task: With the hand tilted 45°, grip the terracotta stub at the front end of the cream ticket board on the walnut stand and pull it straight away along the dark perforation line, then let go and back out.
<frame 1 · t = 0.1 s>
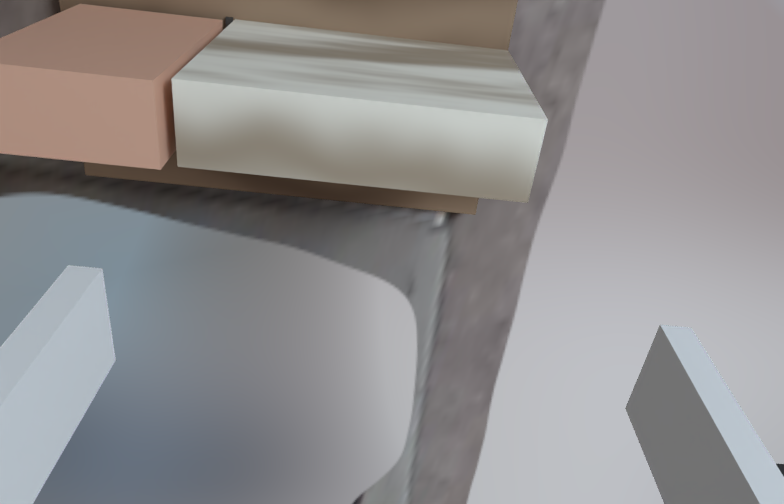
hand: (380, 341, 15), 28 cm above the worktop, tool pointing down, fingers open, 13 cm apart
ticket stub: (115, 76, 32), point 8 cm above the worktop, slide at 0.0 cm
ticket stand: (289, 53, 40), on the worktop
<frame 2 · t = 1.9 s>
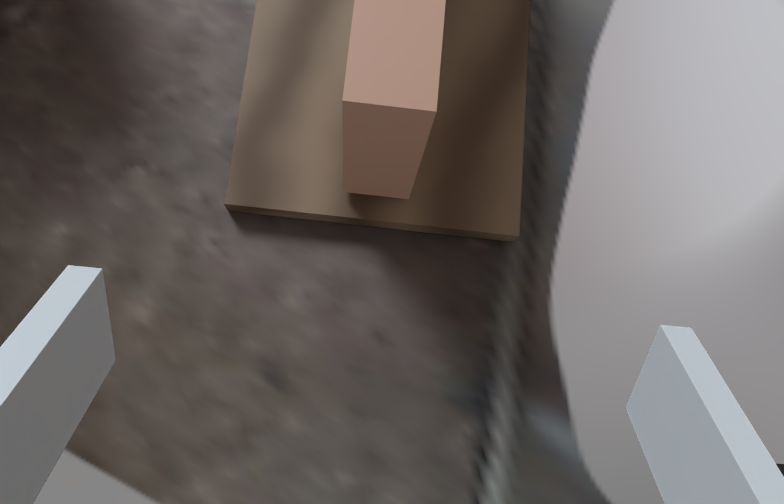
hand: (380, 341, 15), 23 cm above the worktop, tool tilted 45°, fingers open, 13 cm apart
ticket stub: (388, 87, 34), point 8 cm above the worktop, slide at 0.0 cm
ticket stand: (391, 42, 43), on the worktop
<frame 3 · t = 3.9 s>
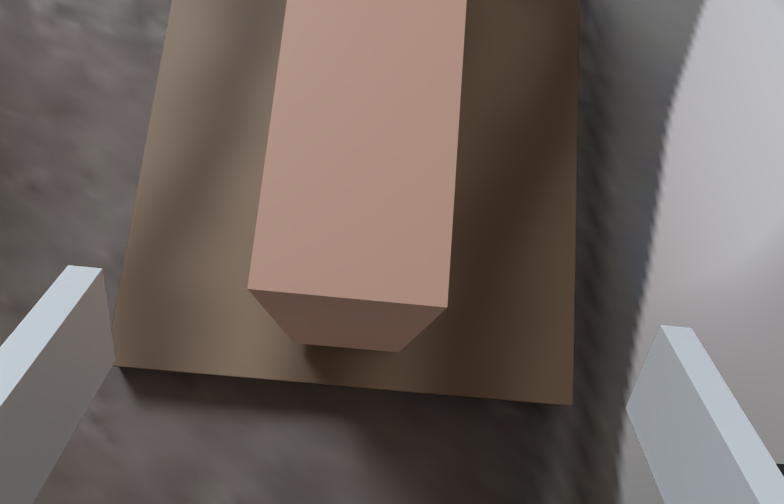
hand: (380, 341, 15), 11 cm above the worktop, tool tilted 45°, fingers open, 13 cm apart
ticket stub: (360, 199, 20), point 8 cm above the worktop, slide at 0.0 cm
ticket stand: (371, 94, 29), on the worktop
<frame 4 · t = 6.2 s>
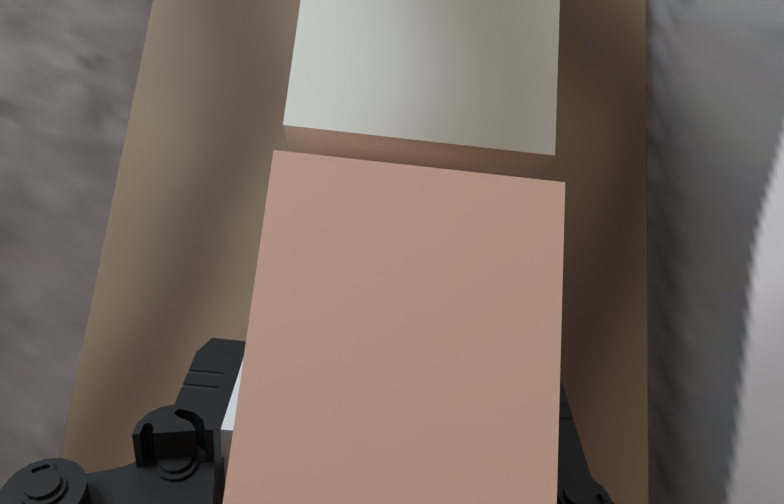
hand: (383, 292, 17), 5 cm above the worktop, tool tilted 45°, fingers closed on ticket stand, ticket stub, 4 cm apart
ticket stub: (374, 445, 14), point 8 cm above the worktop, slide at 0.0 cm, touching gripper
ticket stand: (384, 213, 23), on the worktop
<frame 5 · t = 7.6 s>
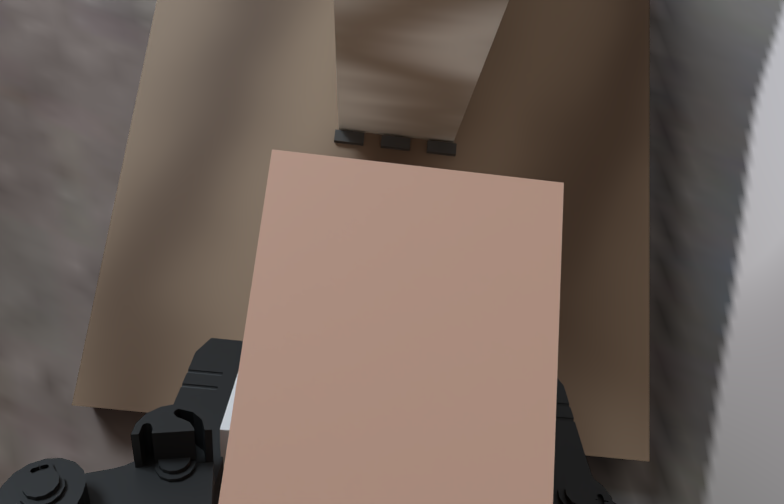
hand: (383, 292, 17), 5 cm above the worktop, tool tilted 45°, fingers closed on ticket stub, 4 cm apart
ticket stub: (373, 445, 14), point 8 cm above the worktop, slide at 5.4 cm, touching gripper
ticket stand: (400, 79, 24), on the worktop
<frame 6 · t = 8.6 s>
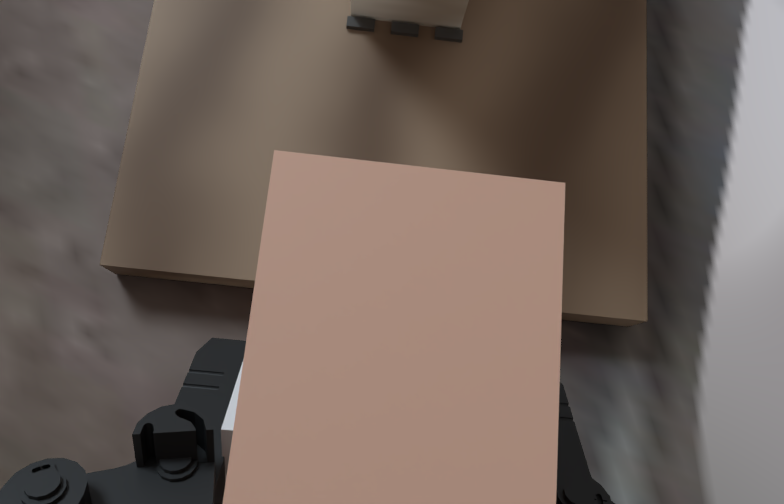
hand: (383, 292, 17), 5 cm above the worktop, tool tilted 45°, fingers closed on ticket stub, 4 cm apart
ticket stub: (373, 445, 14), point 8 cm above the worktop, slide at 9.8 cm, touching gripper
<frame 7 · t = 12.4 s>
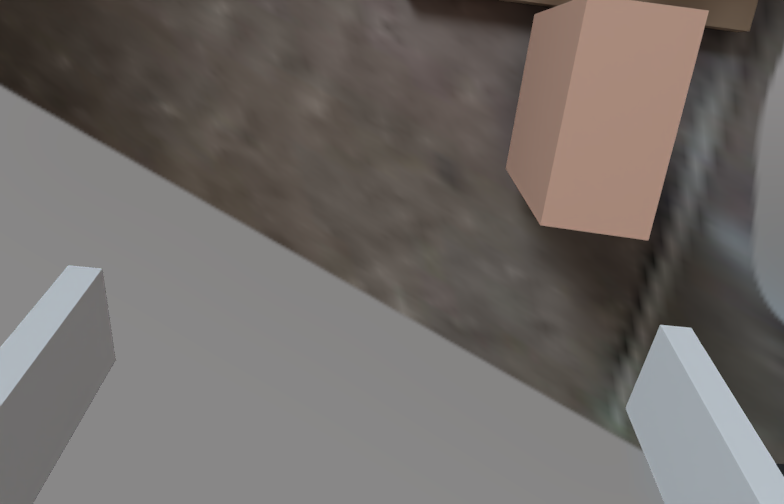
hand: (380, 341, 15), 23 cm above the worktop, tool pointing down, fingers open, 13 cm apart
ticket stub: (582, 109, 28), point 8 cm above the worktop, slide at 10.0 cm
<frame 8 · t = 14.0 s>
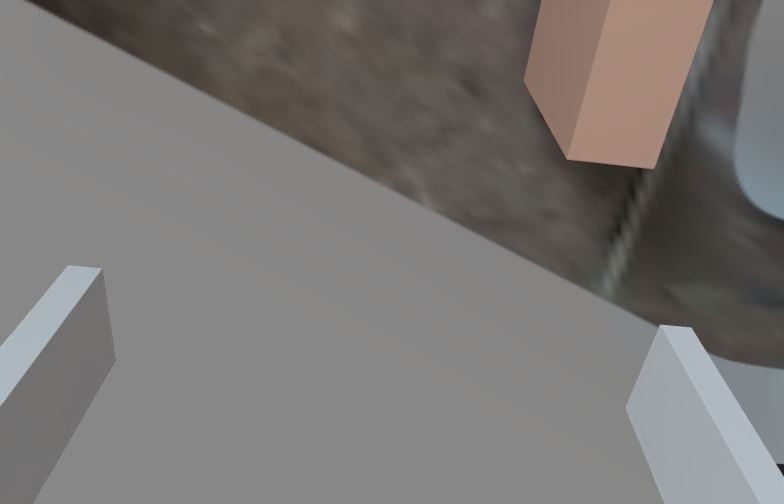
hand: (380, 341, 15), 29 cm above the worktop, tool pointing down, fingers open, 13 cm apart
ticket stub: (600, 41, 32), point 8 cm above the worktop, slide at 10.0 cm
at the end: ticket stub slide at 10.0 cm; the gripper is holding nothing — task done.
